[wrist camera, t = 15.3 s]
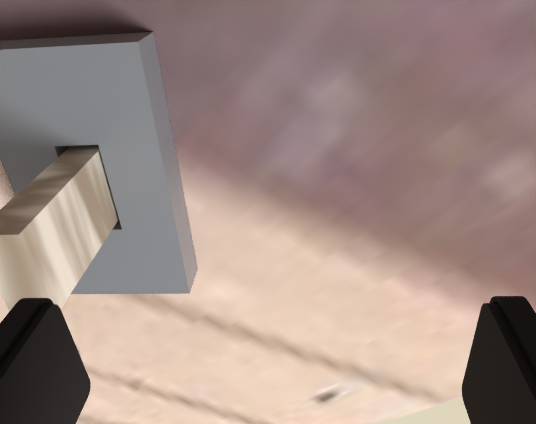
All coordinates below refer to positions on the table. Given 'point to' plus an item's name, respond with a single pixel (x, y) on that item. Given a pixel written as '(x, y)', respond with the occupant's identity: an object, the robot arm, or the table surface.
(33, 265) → the pine slat
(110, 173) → the grey slotted tile
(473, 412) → the robot arm
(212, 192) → the table surface
